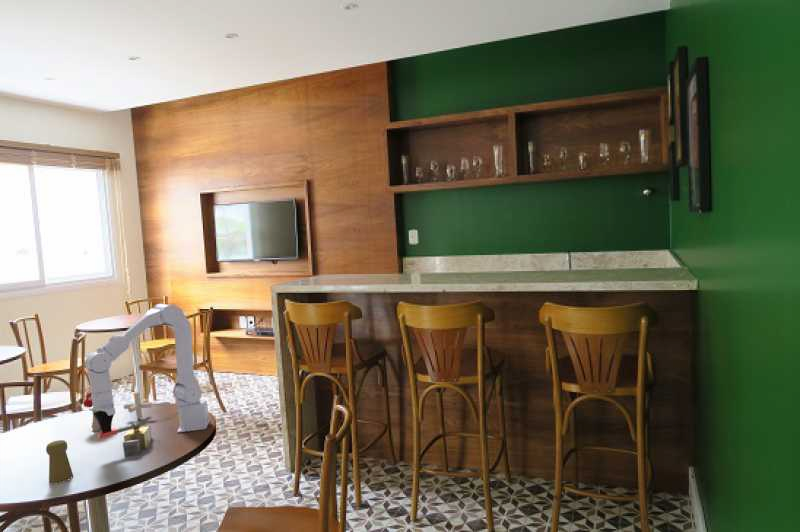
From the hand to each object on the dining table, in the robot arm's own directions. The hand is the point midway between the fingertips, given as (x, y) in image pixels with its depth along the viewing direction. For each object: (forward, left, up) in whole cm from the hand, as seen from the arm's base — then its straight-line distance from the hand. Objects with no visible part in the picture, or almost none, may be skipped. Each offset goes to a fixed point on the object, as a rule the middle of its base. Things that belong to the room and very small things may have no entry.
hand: (106, 433), depth 178 cm
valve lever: (-4, -1, 0) cm, 4 cm away
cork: (+8, +15, -7) cm, 18 cm away
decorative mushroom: (+12, -28, -7) cm, 32 cm away
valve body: (-8, -3, -7) cm, 11 cm away
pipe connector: (0, -33, -7) cm, 34 cm away
